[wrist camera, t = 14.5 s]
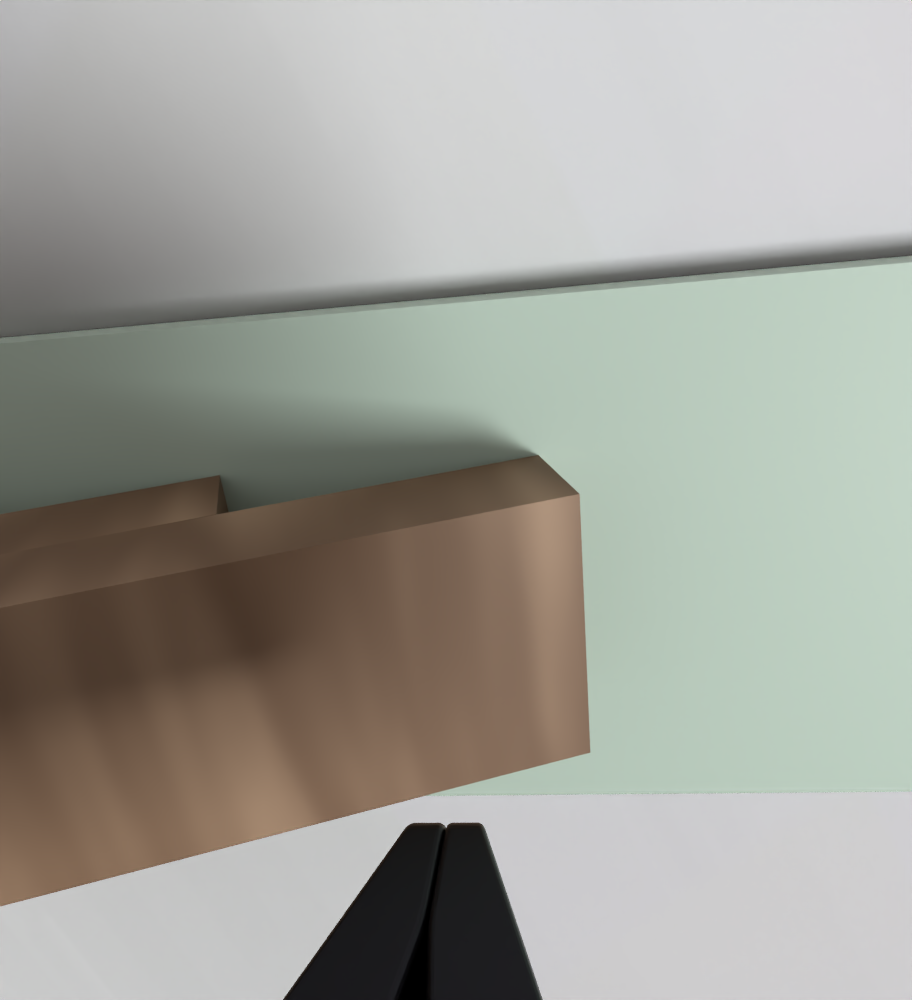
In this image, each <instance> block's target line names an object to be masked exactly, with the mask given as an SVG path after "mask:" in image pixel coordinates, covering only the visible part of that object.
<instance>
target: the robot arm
mask: <svg viewBox="0 0 912 1000" xmlns="http://www.w3.org/2000/svg"><path fill="white" fill-rule="evenodd" d="M283 1000H543V999H542V996H541V993H540V990H539V987H538V985H537V982H536V979H535V976H534V973H533V970H532V967H531V964H530V961H529V958H528V955H527V952H526V949H525V946H524V943H523V940H522V937H521V934H520V931H519V928H518V925H517V922H516V919H515V916H514V913H513V910H512V908H511V905H510V902H509V899H508V896H507V893H506V890H505V887H504V884H503V881H502V878H501V875H500V872H499V869H498V866H497V863H496V860H495V857H494V854H493V851H492V848H491V845H490V842H489V839H488V836H487V833H486V831H485V828H484V826H483V825H482V824H480V823H450V824H449V825H448V826H447V828H446V827H445V826H444V825H443V824H441V823H412V824H410V825H408V826H407V827H406V828H405V829H404V831H403V832H402V834H401V835H400V836H399V838H398V839H397V841H396V842H395V843H394V845H393V846H392V848H391V849H390V851H389V852H388V853H387V855H386V856H385V858H384V859H383V860H382V862H381V863H380V865H379V866H378V867H377V869H376V870H375V872H374V873H373V874H372V876H371V877H370V879H369V880H368V881H367V883H366V884H365V886H364V887H363V888H362V890H361V891H360V893H359V894H358V895H357V897H356V898H355V900H354V901H353V902H352V904H351V905H350V907H349V908H348V909H347V911H346V912H345V914H344V915H343V916H342V918H341V919H340V921H339V922H338V923H337V925H336V926H335V928H334V929H333V930H332V932H331V933H330V935H329V936H328V937H327V939H326V940H325V942H324V943H323V944H322V946H321V947H320V949H319V950H318V951H317V953H316V954H315V956H314V957H313V958H312V960H311V961H310V963H309V964H308V965H307V967H306V968H305V970H304V971H303V972H302V974H301V975H300V977H299V978H298V979H297V981H296V982H295V984H294V985H293V986H292V988H291V989H290V991H289V992H288V993H287V995H286V996H285V998H284V999H283Z"/></svg>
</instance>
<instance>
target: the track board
mask: <svg viewBox="0 0 912 1000" xmlns="http://www.w3.org/2000/svg"><path fill="white" fill-rule="evenodd" d="M536 455H539V456H540V457H541V458H542V459H543V460H544V461H545V462H546V463H547V464H548V465H550V466H551V467H552V468H553V469H554V470H555V471H556V472H557V473H558V474H559V475H560V476H561V477H562V478H563V479H564V480H565V481H566V482H568V483H569V484H570V485H571V486H572V487H573V488H574V489H575V490H576V491H577V492H578V493H579V494H580V515H581V539H582V563H583V587H584V611H585V635H586V659H587V683H588V707H589V731H590V753H587V754H583V755H579V756H575V757H572V758H568V759H564V760H560V761H556V762H552V763H548V764H545V765H541V766H537V767H533V768H529V769H525V770H522V771H518V772H514V773H510V774H506V775H502V776H499V777H495V778H491V779H487V780H483V781H479V782H476V783H472V784H468V785H464V786H460V787H456V788H453V789H449V790H445V791H441V792H437V793H433V794H429V795H426V796H465V795H578V794H690V793H803V792H912V256H901V257H890V258H879V259H868V260H856V261H845V262H834V263H823V264H812V265H801V266H790V267H779V268H768V269H757V270H746V271H735V272H724V273H713V274H701V275H690V276H679V277H668V278H657V279H646V280H635V281H624V282H613V283H602V284H591V285H580V286H569V287H557V288H546V289H535V290H524V291H513V292H502V293H491V294H480V295H469V296H458V297H447V298H436V299H425V300H413V301H402V302H391V303H380V304H369V305H358V306H347V307H336V308H325V309H314V310H303V311H292V312H281V313H269V314H258V315H247V316H236V317H225V318H214V319H203V320H192V321H181V322H170V323H159V324H148V325H137V326H125V327H114V328H103V329H92V330H81V331H70V332H59V333H48V334H37V335H26V336H15V337H4V338H0V514H4V513H10V512H16V511H21V510H27V509H32V508H38V507H44V506H49V505H55V504H61V503H66V502H72V501H77V500H83V499H89V498H94V497H100V496H105V495H111V494H117V493H122V492H128V491H133V490H139V489H145V488H150V487H156V486H161V485H167V484H173V483H178V482H184V481H189V480H195V479H201V478H206V477H212V476H217V475H220V478H221V482H222V486H223V490H224V495H225V499H226V503H227V507H228V511H229V512H233V511H239V510H244V509H249V508H255V507H260V506H266V505H271V504H276V503H282V502H287V501H293V500H298V499H303V498H309V497H314V496H320V495H325V494H330V493H336V492H341V491H347V490H352V489H357V488H363V487H368V486H374V485H379V484H384V483H390V482H395V481H401V480H406V479H412V478H417V477H422V476H428V475H433V474H439V473H444V472H449V471H455V470H460V469H466V468H471V467H476V466H482V465H487V464H493V463H498V462H503V461H509V460H514V459H520V458H525V457H530V456H536Z"/></svg>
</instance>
